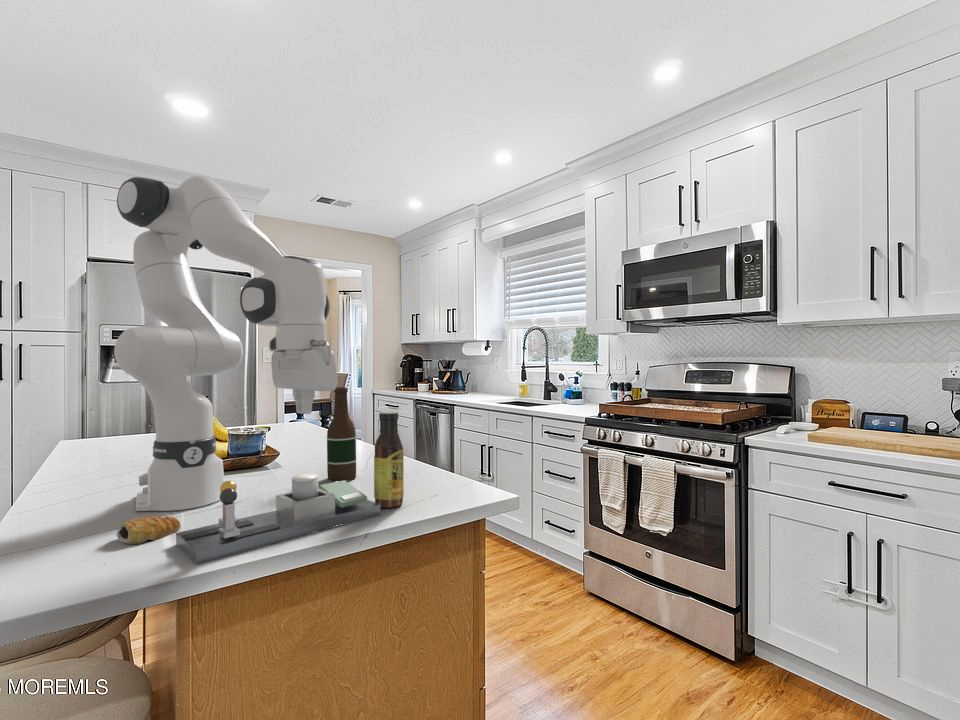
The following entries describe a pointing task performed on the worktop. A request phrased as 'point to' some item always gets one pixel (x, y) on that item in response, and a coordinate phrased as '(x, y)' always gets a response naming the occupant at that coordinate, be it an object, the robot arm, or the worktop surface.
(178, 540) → the board
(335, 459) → the beer bottle
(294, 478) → the button
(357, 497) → the rocker
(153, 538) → the pastry
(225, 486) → the slider
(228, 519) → the slider
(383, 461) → the sauce bottle
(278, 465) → the worktop surface
